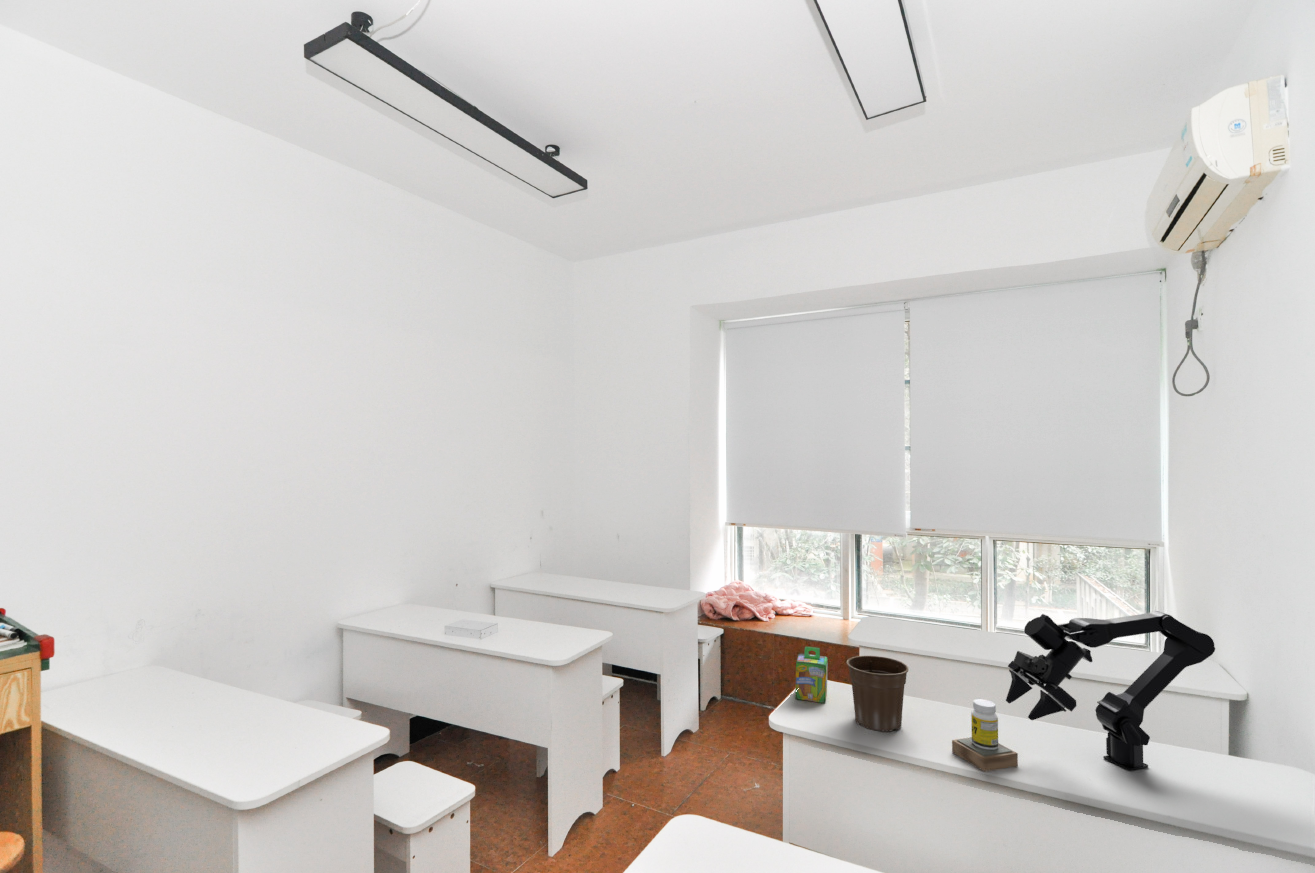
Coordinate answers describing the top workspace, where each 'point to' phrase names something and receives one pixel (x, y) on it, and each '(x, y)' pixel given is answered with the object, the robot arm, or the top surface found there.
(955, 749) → the plinth
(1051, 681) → the robot arm
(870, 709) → the plant pot
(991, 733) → the supplement bottle
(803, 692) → the chalk box
